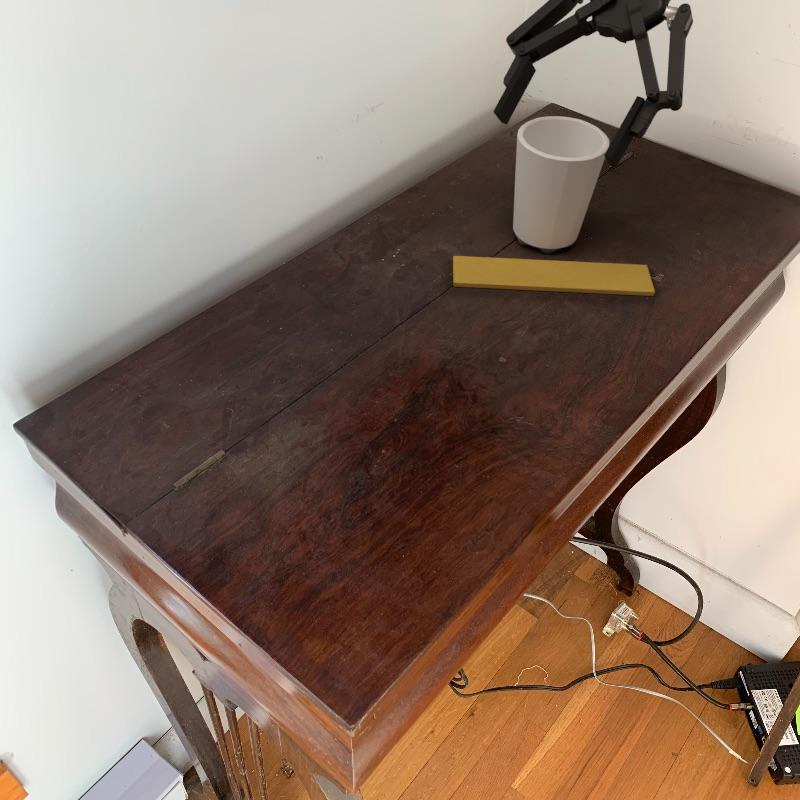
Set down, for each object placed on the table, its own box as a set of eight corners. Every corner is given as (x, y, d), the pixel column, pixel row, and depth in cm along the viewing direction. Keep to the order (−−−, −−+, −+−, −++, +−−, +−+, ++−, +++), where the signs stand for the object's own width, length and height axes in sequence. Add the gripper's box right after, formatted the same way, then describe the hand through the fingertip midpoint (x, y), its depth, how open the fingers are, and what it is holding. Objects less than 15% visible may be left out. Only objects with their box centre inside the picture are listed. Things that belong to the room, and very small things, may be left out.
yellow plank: (645, 269, 91) (647, 264, 91) (653, 296, 88) (655, 292, 88) (452, 259, 91) (453, 255, 91) (453, 286, 88) (453, 282, 88)
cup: (580, 215, 99) (602, 117, 90) (592, 263, 92) (617, 161, 83) (499, 212, 99) (513, 113, 89) (505, 259, 92) (521, 158, 83)
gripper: (775, 3, 80) (665, 195, 82) (561, -55, 91) (470, 116, 93) (774, -44, 73) (655, 167, 76) (543, -100, 84) (445, 86, 86)
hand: (552, 139), depth 84 cm, fingers open, 13 cm apart
